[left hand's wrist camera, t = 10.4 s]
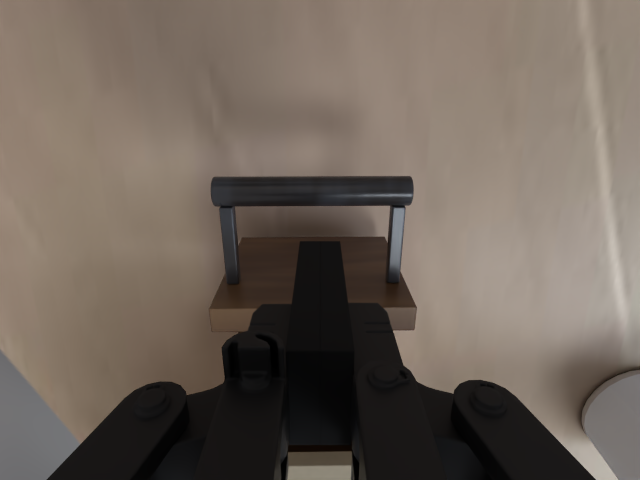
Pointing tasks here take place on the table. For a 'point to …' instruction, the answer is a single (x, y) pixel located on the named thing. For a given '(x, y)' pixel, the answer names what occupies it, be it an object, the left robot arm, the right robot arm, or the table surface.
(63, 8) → the table surface
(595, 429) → the mug
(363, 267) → the drawer
